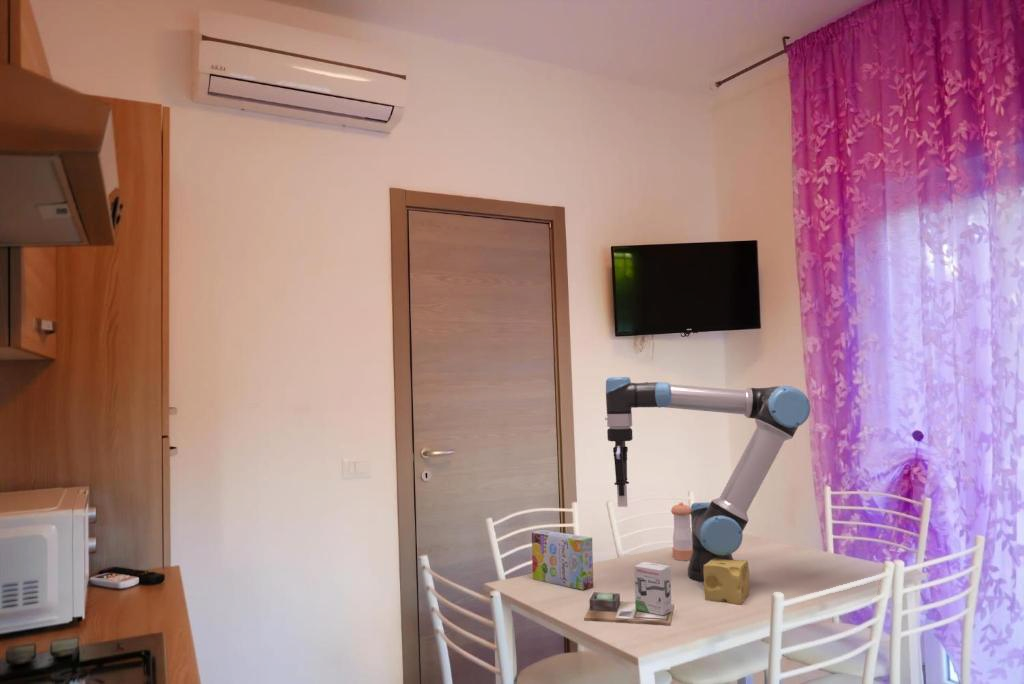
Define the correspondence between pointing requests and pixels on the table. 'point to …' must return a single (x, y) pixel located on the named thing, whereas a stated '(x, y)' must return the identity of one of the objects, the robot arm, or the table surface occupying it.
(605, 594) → the button
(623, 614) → the wooden tray
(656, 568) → the ink box
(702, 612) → the table surface
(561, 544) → the snack box
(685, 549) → the salt shaker
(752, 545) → the table surface
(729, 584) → the cheese
